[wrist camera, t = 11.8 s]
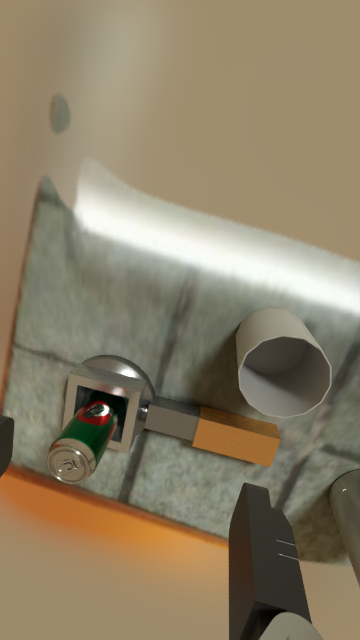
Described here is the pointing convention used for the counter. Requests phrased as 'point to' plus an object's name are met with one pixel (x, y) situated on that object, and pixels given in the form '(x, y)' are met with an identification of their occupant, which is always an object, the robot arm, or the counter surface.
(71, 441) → the soda can
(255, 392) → the cup
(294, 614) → the robot arm
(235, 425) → the ratchet
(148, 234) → the counter surface
